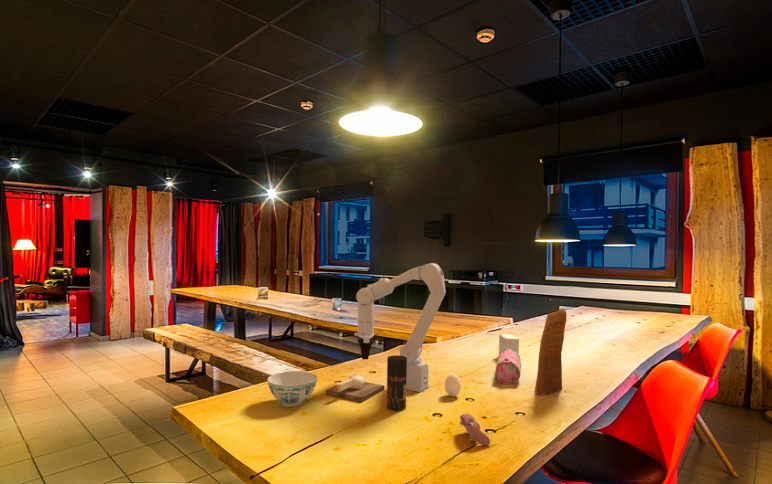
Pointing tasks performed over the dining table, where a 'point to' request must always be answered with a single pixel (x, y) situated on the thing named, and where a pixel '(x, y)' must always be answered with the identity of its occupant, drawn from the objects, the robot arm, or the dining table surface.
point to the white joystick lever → (350, 383)
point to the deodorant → (396, 382)
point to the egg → (452, 385)
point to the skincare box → (508, 342)
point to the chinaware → (292, 387)
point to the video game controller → (474, 429)
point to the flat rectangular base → (358, 392)
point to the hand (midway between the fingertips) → (365, 358)
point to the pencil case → (508, 366)
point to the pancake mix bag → (551, 354)
